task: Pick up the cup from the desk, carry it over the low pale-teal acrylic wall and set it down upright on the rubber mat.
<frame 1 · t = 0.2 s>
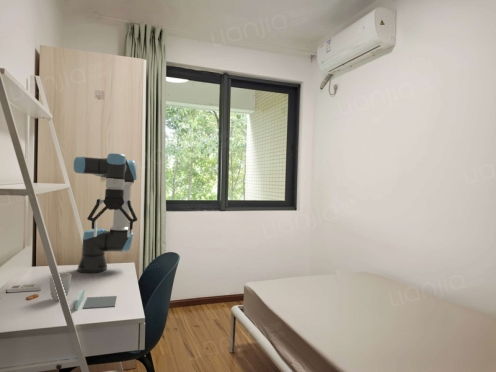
hand: (111, 236, 140), 27 cm above the table, fingers open, 13 cm apart
mat: (100, 302, 136), on the table
wall: (79, 303, 133), on the table
cup: (59, 299, 137), on the table
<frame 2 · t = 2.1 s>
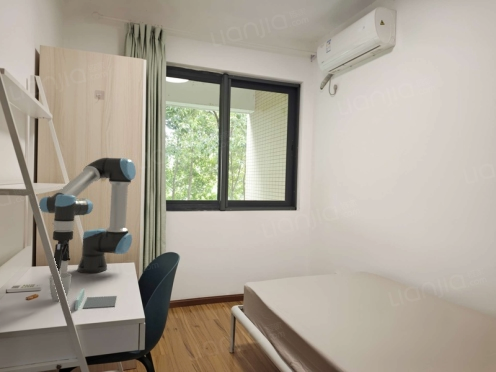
hand: (59, 280, 137), 8 cm above the table, fingers open, 13 cm apart
nothing on the table moved.
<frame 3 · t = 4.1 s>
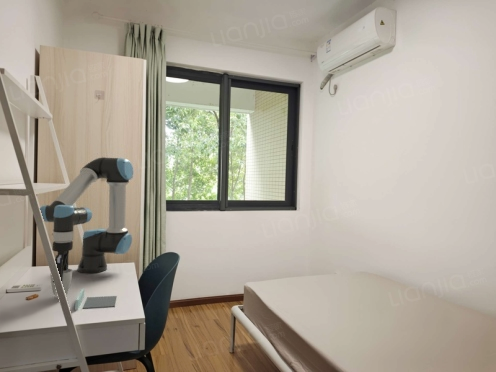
hand: (60, 293, 138), 2 cm above the table, fingers closed on cup, 8 cm apart
cup: (60, 294, 138), point 2 cm above the table, touching gripper
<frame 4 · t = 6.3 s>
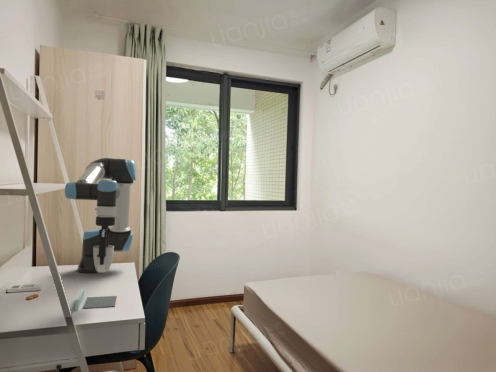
hand: (102, 269, 136), 14 cm above the table, fingers closed on cup, 8 cm apart
cup: (102, 270, 136), point 14 cm above the table, touching gripper
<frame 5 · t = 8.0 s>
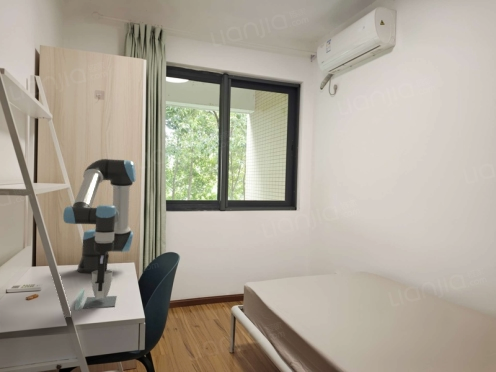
hand: (101, 294, 136), 3 cm above the table, fingers closed on cup, 8 cm apart
cup: (100, 295, 136), point 3 cm above the table, touching gripper
when the fingers open (2 cm above the table, at t = 8.9 s): cup stays where it is, resting on mat.
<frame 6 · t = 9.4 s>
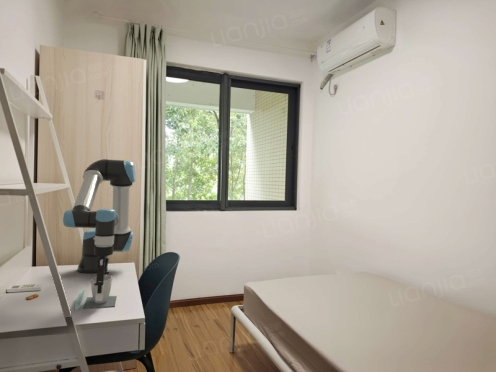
hand: (101, 294, 136), 3 cm above the table, fingers open, 13 cm apart
cup: (100, 301, 136), resting on mat
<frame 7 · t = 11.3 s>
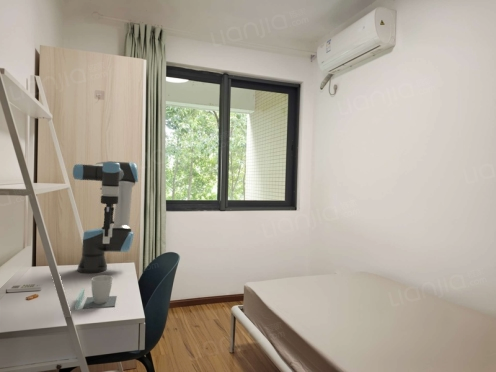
hand: (107, 240, 150), 24 cm above the table, fingers open, 13 cm apart
nothing on the table moved.
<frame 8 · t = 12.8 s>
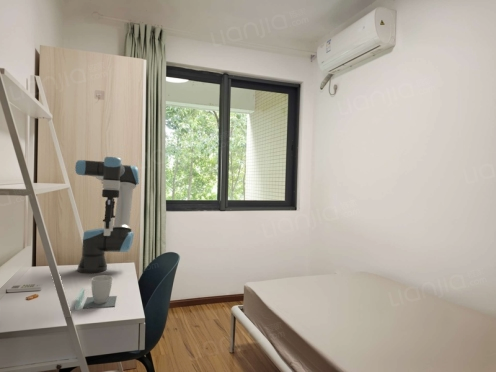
hand: (108, 233, 153), 27 cm above the table, fingers open, 13 cm apart
nothing on the table moved.
at the end: cup inside the target area on the mat (0.0 cm from its centre), point 0.2 cm above the mat's base; cup tilted 0°; the gripper is holding nothing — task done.
